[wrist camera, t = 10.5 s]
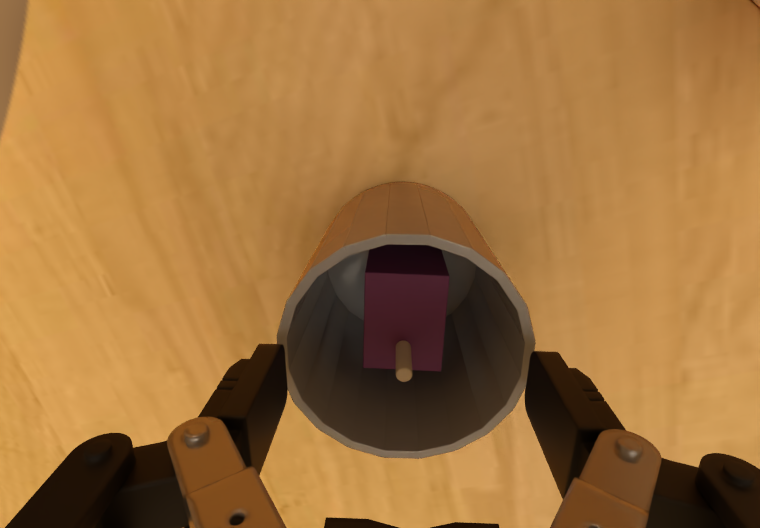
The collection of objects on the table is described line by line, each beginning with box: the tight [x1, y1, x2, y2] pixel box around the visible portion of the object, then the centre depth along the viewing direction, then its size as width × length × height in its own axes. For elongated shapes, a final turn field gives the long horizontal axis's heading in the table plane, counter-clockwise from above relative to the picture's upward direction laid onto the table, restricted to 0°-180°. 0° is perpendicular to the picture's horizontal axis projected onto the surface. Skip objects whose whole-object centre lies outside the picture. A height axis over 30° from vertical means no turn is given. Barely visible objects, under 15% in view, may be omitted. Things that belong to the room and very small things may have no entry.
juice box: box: [363, 244, 450, 382], centre depth 20 cm, size 4×3×9 cm
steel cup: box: [277, 182, 535, 459], centre depth 20 cm, size 9×9×10 cm
